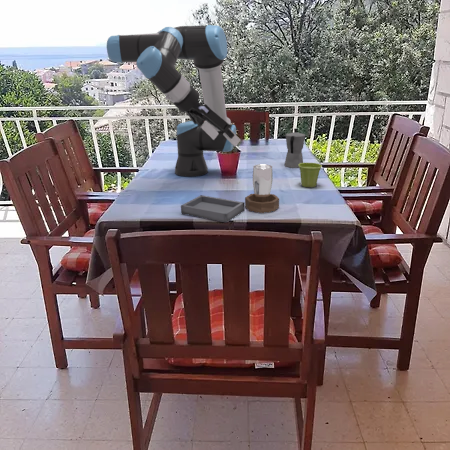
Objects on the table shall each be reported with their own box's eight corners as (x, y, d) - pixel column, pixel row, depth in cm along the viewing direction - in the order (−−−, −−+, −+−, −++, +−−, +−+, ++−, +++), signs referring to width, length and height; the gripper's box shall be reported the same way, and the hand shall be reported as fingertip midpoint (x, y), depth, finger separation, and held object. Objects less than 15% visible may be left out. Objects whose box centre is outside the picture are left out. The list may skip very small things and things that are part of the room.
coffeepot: (287, 162, 216) (288, 125, 210) (305, 163, 213) (308, 126, 207) (280, 169, 203) (281, 131, 196) (300, 171, 200) (302, 132, 193)
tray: (181, 213, 150) (180, 205, 149) (201, 202, 160) (201, 195, 159) (226, 222, 142) (226, 214, 141) (244, 210, 152) (244, 202, 151)
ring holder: (240, 209, 153) (240, 200, 152) (254, 200, 162) (254, 191, 161) (269, 214, 148) (270, 205, 147) (282, 204, 157) (282, 195, 156)
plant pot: (307, 181, 185) (308, 161, 182) (325, 185, 178) (326, 165, 175) (292, 185, 179) (293, 165, 176) (310, 190, 173) (312, 169, 170)
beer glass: (270, 211, 151) (271, 169, 146) (250, 209, 153) (251, 168, 147) (272, 204, 158) (273, 164, 152) (253, 203, 159) (254, 163, 153)
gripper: (157, 100, 137) (201, 142, 149) (193, 108, 117) (240, 156, 129) (172, 82, 137) (214, 125, 150) (210, 86, 117) (255, 136, 130)
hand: (226, 139), depth 140 cm, fingers open, 13 cm apart
